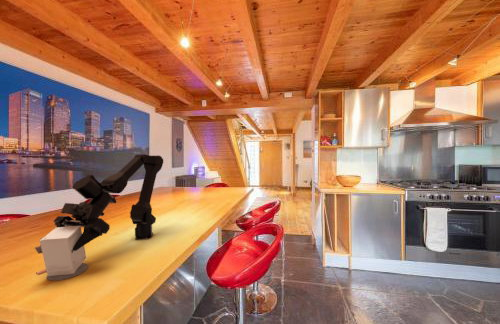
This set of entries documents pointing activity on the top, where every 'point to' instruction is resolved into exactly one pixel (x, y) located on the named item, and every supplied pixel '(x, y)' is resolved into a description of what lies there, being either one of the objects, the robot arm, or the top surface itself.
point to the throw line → (41, 271)
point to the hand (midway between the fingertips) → (62, 248)
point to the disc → (80, 270)
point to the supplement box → (62, 251)
